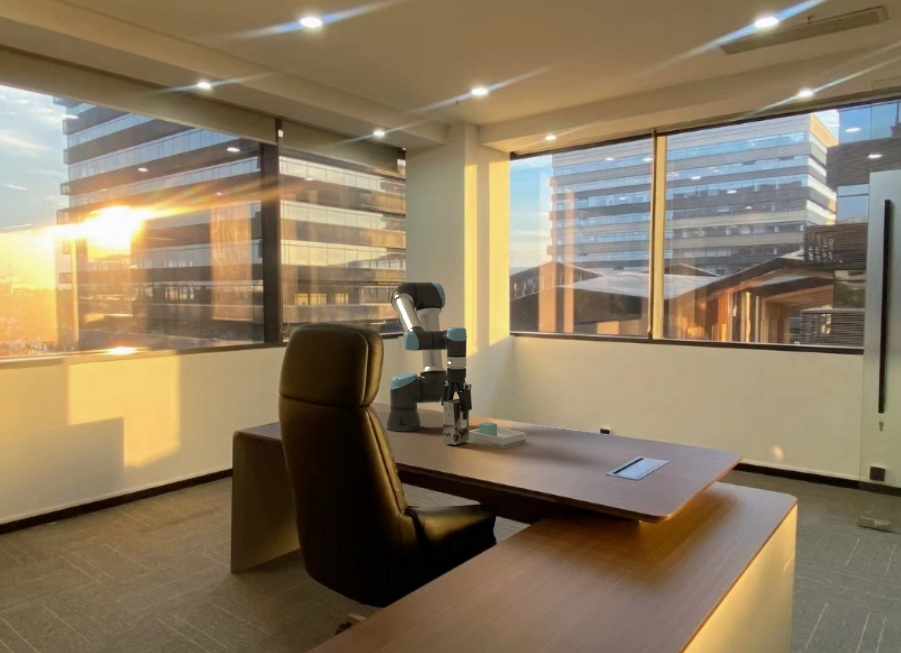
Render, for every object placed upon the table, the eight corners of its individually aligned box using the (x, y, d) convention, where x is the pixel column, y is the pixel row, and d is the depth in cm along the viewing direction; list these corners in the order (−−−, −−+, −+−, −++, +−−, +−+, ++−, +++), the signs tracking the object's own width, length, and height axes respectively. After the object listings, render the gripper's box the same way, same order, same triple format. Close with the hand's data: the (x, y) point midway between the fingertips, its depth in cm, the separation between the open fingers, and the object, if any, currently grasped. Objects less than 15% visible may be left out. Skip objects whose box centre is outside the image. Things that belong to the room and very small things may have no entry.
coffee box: (455, 445, 238) (455, 403, 237) (442, 442, 242) (442, 401, 241) (469, 440, 245) (470, 399, 244) (456, 438, 249) (456, 397, 248)
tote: (467, 441, 248) (467, 431, 248) (490, 435, 258) (491, 425, 258) (503, 449, 235) (503, 438, 235) (525, 442, 245) (525, 432, 245)
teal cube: (479, 436, 250) (479, 423, 249) (487, 434, 253) (487, 422, 253) (488, 438, 246) (488, 425, 246) (496, 436, 250) (496, 423, 249)
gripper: (431, 365, 246) (431, 423, 247) (468, 370, 232) (468, 432, 234) (445, 364, 251) (445, 420, 253) (482, 369, 237) (481, 428, 239)
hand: (456, 426), depth 243 cm, fingers closed on coffee box, 7 cm apart
